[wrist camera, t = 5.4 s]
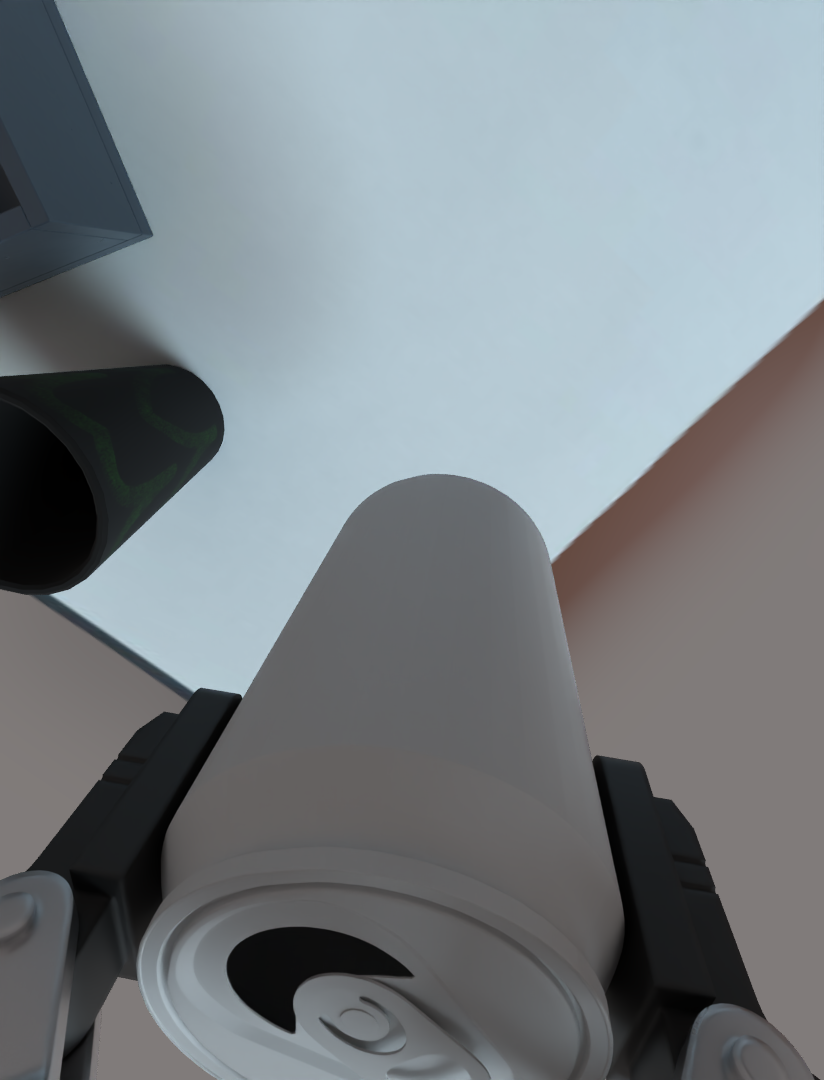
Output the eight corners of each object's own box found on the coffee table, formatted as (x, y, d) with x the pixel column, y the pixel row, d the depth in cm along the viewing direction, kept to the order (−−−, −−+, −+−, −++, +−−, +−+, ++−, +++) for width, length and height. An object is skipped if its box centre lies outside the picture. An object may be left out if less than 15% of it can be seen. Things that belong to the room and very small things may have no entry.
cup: (168, 511, 32) (7, 627, 21) (74, 393, 30) (-159, 456, 19) (272, 445, 30) (151, 538, 19) (179, 311, 28) (-18, 331, 17)
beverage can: (442, 418, 15) (326, 745, 5) (594, 572, 17) (780, 1104, 6) (299, 559, 18) (8, 989, 7) (442, 683, 19) (380, 1204, 8)
